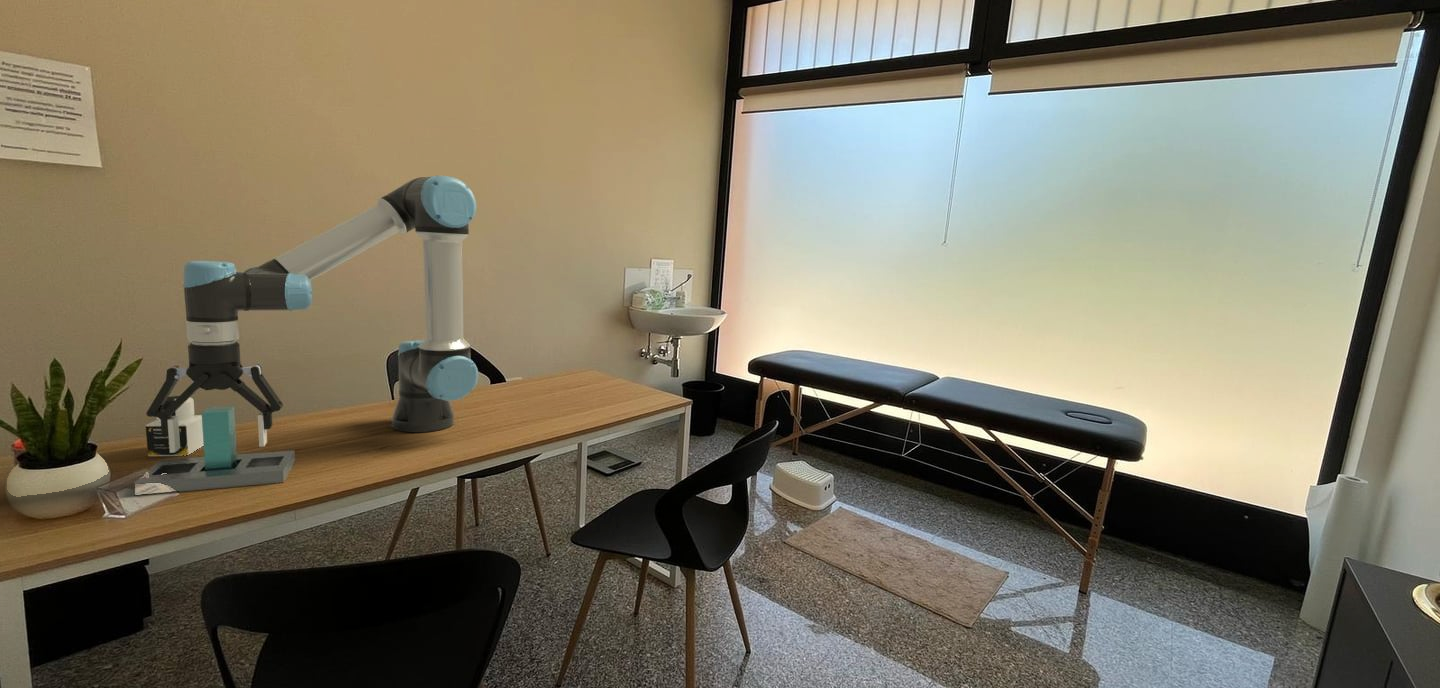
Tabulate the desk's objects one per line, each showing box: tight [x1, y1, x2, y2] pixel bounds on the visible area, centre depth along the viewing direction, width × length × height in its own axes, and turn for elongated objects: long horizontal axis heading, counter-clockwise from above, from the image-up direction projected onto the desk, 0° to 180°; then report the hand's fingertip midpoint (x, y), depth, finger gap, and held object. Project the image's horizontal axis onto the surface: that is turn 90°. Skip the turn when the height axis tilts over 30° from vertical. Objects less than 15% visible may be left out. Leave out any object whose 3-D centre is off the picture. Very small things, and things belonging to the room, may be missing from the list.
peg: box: [201, 405, 238, 471], centre depth 115 cm, size 4×4×14 cm
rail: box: [133, 450, 296, 493], centre depth 115 cm, size 22×12×2 cm, turn 117°
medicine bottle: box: [145, 395, 204, 457], centre depth 126 cm, size 7×7×12 cm
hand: (220, 447), depth 115 cm, fingers open, 13 cm apart
